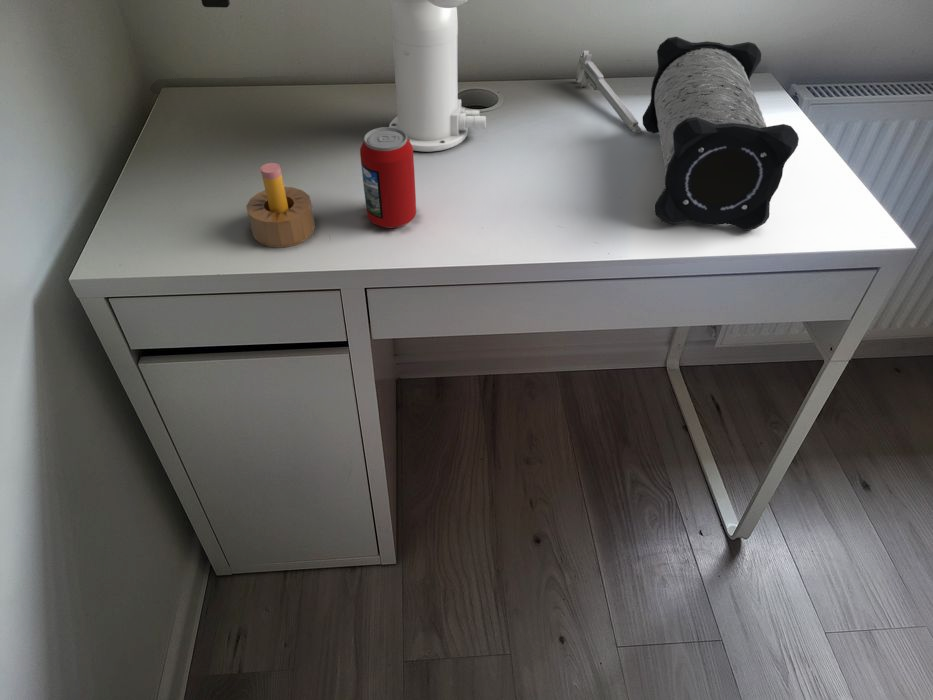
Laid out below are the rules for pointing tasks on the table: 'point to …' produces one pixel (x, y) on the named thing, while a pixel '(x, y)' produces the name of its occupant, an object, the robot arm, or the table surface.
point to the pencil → (274, 187)
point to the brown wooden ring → (281, 219)
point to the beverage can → (388, 177)
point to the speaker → (714, 135)
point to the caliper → (603, 89)
